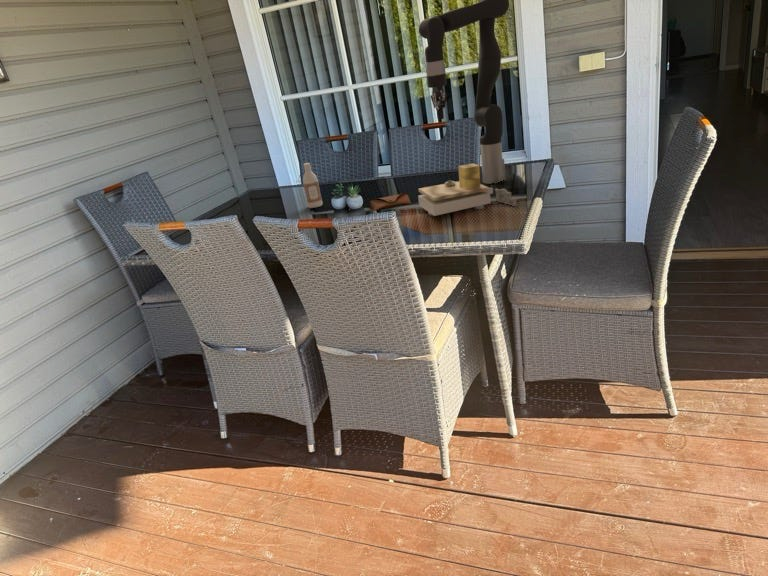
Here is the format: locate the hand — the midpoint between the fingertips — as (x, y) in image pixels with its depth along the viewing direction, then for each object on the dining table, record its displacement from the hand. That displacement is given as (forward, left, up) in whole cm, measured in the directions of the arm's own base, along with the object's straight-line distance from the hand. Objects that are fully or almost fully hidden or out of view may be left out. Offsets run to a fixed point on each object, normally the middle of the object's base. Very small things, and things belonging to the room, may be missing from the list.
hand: (440, 119), depth 210 cm
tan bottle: (+55, -31, -32) cm, 71 cm away
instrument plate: (+6, +22, -25) cm, 34 cm away
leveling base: (+6, +22, -32) cm, 39 cm away
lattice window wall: (-12, +30, -32) cm, 46 cm away
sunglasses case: (+25, -4, -33) cm, 41 cm away
